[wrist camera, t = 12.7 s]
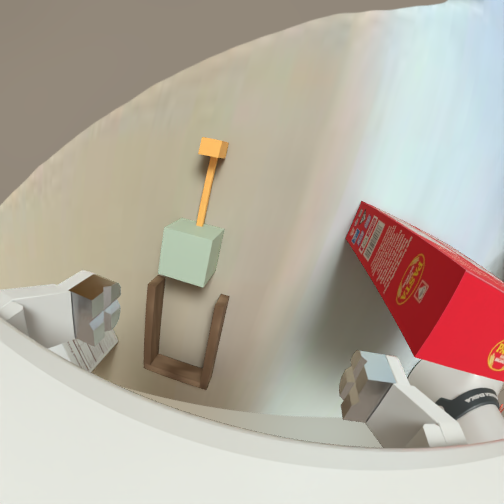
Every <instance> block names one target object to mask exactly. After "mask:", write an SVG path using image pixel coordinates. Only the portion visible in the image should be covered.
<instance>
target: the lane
mask: <svg viewBox="0 0 504 504" xmlns="http://www.w3.org/2000/svg"><path fill="white" fill-rule="evenodd" d="M164 286H165V277H163V276H160V275H158V276H157V277H155V278H154V279H153V280H152V281H151V282H150V283H149V284H148V289H147V302H146V318H145V338H144V368H145V369H148V370H150V371H153V372H156V373H158V374H161V375H164V376H166V377H169V378H172V379H175V380H178V381H180V382H183V383H186V384H189V385H192V386H196V387H199V388H202V389H205V390H207V387H208V384H209V382H210V379H211V377H212V373H213V368H214V363H215V359H216V354H217V350H218V345H219V341H220V336H221V332H222V327H223V323H224V318H225V314H226V309H227V305H228V300H229V296H226V295H223V294H221V295H220V297H219V299H218V301H217V303H216V304H215V308H214V313H213V318H212V323H211V328H210V333H209V338H208V343H207V349H206V354H205V359H204V364H203V368H199V367H196V366H193V365H190V364H187V363H184V362H181V361H178V360H175V359H172V358H170V357H167V356H164V355H161V354H158V353H159V339H160V326H161V315H162V305H163V295H164Z"/></svg>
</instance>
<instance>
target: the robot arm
mask: <svg viewBox="0 0 504 504" xmlns="http://www.w3.org/2000/svg"><path fill="white" fill-rule="evenodd" d="M120 295H121V287H120V285H119V283H117V282H114V281H112V280H109V279H107V278H104V277H102V276H99V275H97V274H95V273H92V272H89V271H86V270H82V271H80V272H78V273H77V274H75V275H73V276H72V277H70V278H68V279H67V280H65V281H63V282H62V283H60V284H58V285H55V284H49V285H40V286H32V287H23V288H14V289H5V290H0V504H504V418H503V416H502V415H501V412H502V411H503V410H504V408H503V409H502V410H501V408H502V406H503V404H501V406H500V407H499V403H498V398H497V396H498V394H499V392H500V390H501V388H502V386H503V383H504V382H502V381H498V380H494V379H490V378H487V377H483V376H479V375H475V374H472V373H468V372H464V371H461V370H457V369H453V368H450V367H446V366H443V365H439V364H436V363H433V362H429V361H426V360H421V361H420V362H419V363H418V364H417V365H416V366H415V368H414V369H413V370H412V372H411V374H410V375H409V377H408V379H407V377H406V374H405V372H404V370H403V368H402V365H401V363H400V361H399V359H398V357H396V356H392V355H384V354H377V353H371V352H365V351H359V350H356V352H355V353H354V354H353V356H352V358H351V365H352V366H351V367H349V368H347V369H346V370H345V371H344V373H343V375H342V377H341V381H340V385H339V394H340V397H341V398H342V399H343V400H344V401H343V403H342V404H341V409H342V417H343V420H350V421H356V422H364V423H366V425H367V426H368V428H369V429H370V431H371V432H372V433H373V435H374V436H375V437H376V439H377V440H378V441H379V443H380V444H381V445H382V447H383V448H374V447H356V446H345V445H334V444H325V443H318V442H311V441H304V440H298V439H291V438H286V437H281V436H275V435H270V434H266V433H261V432H257V431H252V430H248V429H244V428H240V427H236V426H232V425H228V424H224V423H221V422H217V421H213V420H210V419H207V418H204V417H200V416H197V415H194V414H191V413H188V412H185V411H181V410H179V409H176V408H173V407H170V406H167V405H164V404H162V403H159V402H157V401H154V400H151V399H149V398H146V397H144V396H141V395H139V394H136V393H134V392H132V391H129V390H127V389H125V388H123V387H120V386H118V385H116V384H114V383H112V382H109V381H107V380H105V379H103V378H101V377H99V376H97V375H95V374H93V373H91V372H89V371H87V370H85V369H83V368H81V367H79V366H77V365H76V364H74V363H72V362H70V361H68V360H66V359H65V358H63V357H61V356H59V355H58V354H56V353H54V352H53V351H51V350H49V349H48V348H51V347H54V346H57V345H60V344H62V343H65V342H68V341H71V340H74V339H75V338H76V339H78V340H81V341H83V342H85V343H87V344H89V345H92V346H94V347H95V346H96V345H97V344H98V343H99V342H100V341H101V340H102V339H103V338H104V337H105V332H106V331H110V330H112V329H113V328H114V327H115V326H116V324H117V322H118V320H119V316H120V305H119V303H118V301H117V299H118V298H119V296H120ZM500 410H501V411H500Z"/></svg>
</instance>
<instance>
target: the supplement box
mask: <svg viewBox="0 0 504 504" xmlns="http://www.w3.org/2000/svg"><path fill="white" fill-rule="evenodd" d="M117 342H118V339H117V337H116V335H115V333H114V330H113V329H112V330H110V331H106V332H105V337H104V338H103V339H102V340H101V341H100V342H99V343H98V344H97V345H96V346H95V347H94V346H92V345H89V344H87V343H85V342H83V341H81V340H78V339H76V338H75V339H74V340H71V341H68V342H65V343H62V344H60V345H57V346H54V347H51V348H48V349H49V350H51V351H53V352H54V353H56V354H58V355H59V356H61V357H63V358H65V359H66V360H68V361H70V362H72V363H74V364H76V365H77V366H79V367H81V368H83V369H85V370H87V371H89V372H92V371H93V370H94V368H95V367H96V366H97V365H98V364H99V363H100V362H101V360H102V359H103V358H104V357H105V356H106V355H107V354H108V353H109V351H110V350H111V349H112V348H113V347H114V346H115V345H116V344H117Z"/></svg>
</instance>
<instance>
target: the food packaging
mask: <svg viewBox="0 0 504 504" xmlns="http://www.w3.org/2000/svg"><path fill="white" fill-rule="evenodd" d="M346 240H347V241H348V243H349V244H350V246H351V248H352V249H353V251H354V252H355V254H356V255H357V257H358V259H359V260H360V262H361V263H362V265H363V267H364V268H365V270H366V272H367V273H368V275H369V276H370V278H371V280H372V281H373V283H374V285H375V286H376V288H377V290H378V292H379V293H380V295H381V297H382V298H383V300H384V302H385V304H386V305H387V307H388V309H389V311H390V312H391V314H392V316H393V318H394V319H395V321H396V323H397V325H398V327H399V329H400V330H401V332H402V334H403V336H404V338H405V340H406V342H407V344H408V345H409V347H410V349H411V351H412V353H413V355H414V357H416V358H419V359H422V360H426V361H429V362H433V363H436V364H439V365H443V366H446V367H450V368H453V369H457V370H461V371H464V372H468V373H472V374H475V375H479V376H483V377H487V378H490V379H494V380H498V381H502V382H504V282H503V281H501V280H500V279H499V278H497V277H496V276H494V275H493V274H492V273H490V272H489V271H487V270H486V269H485V268H483V267H482V266H480V265H479V264H477V263H476V262H474V261H473V260H471V259H470V258H468V257H467V256H465V255H464V254H462V253H461V252H459V251H457V250H456V249H454V248H453V247H451V246H450V245H448V244H446V243H444V242H443V241H441V240H439V239H437V238H435V237H433V236H432V235H430V234H428V233H426V232H424V231H422V230H420V229H418V228H416V227H414V226H412V225H410V224H409V223H407V222H405V221H403V220H401V219H399V218H397V217H395V216H392V215H390V214H388V213H386V212H384V211H382V210H380V209H378V208H376V207H374V206H372V205H369V204H367V203H365V202H363V201H361V204H360V206H359V209H358V211H357V213H356V216H355V218H354V220H353V223H352V225H351V227H350V229H349V232H348V234H347V236H346Z"/></svg>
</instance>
